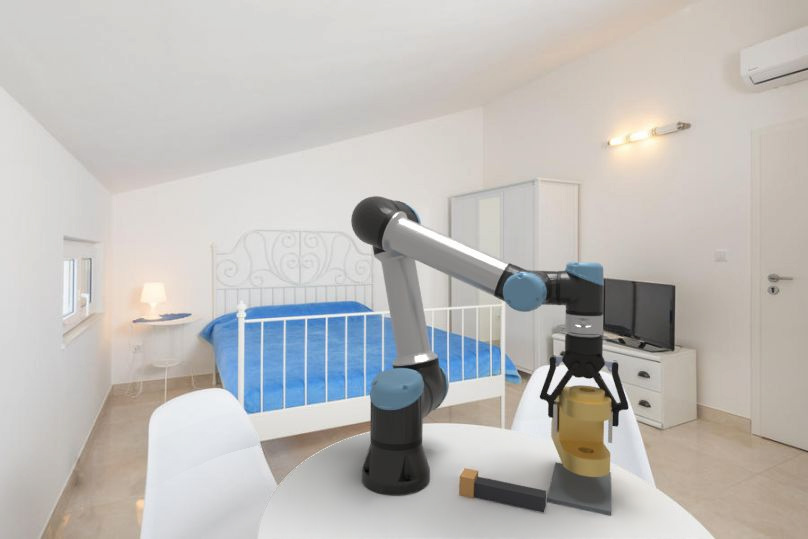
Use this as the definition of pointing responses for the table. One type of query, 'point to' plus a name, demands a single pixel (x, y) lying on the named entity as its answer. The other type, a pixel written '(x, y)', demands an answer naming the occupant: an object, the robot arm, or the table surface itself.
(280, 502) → the table surface
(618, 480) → the table surface
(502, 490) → the dark grey bar
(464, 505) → the table surface
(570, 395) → the gold clevis bracket
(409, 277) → the robot arm
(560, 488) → the mat
